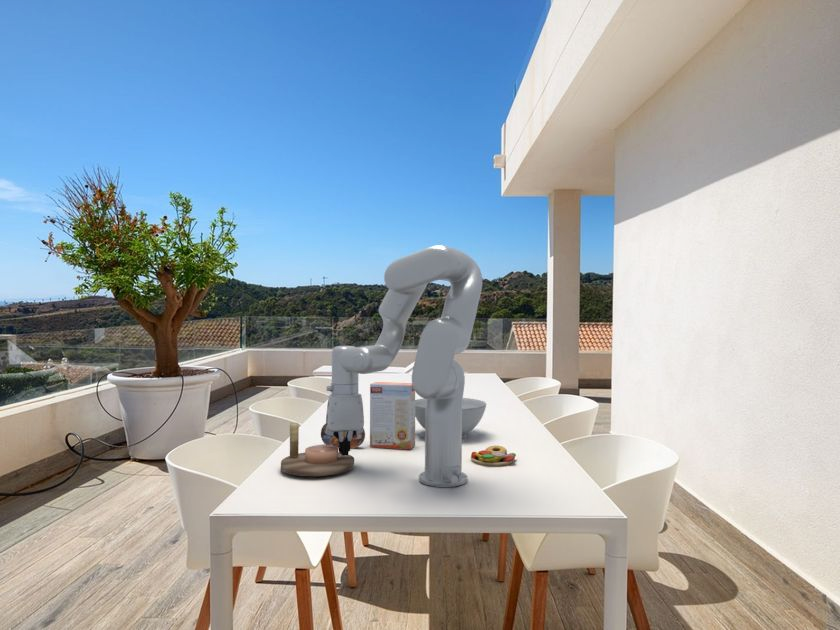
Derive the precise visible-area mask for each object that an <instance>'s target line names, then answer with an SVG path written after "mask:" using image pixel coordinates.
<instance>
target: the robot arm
mask: <svg viewBox="0 0 840 630" xmlns="http://www.w3.org/2000/svg"><path fill="white" fill-rule="evenodd" d="M482 275H483V274H482V271H481V269H480V267H479V265H478V264H477V262H476V261H475V260H474V259H473V258H472V257H471V256H470V255H468V254H467V253H465V252H463V251H461V250H459V249H456V248H452V247H450V246H448V245H441V244H439V245H432V246H428V247H425V248H423V249H421V250H417V251H416V252H414V253H411V254H407V255H405V256H403V257H400V258H398V259H395V260H394V261H392V262H391V263H390V264H389V265H388V266H386V269H385V272H384V276H383V278H384V284H385V286H386V288H388V290H387V292H386V294H385V296H384V297H383V299H382V301H381V302H380V305H379V306H378V314H379V315H380V317H381V318H382V319H381V320H382V323H383V325H382V330H381V332H380V334H379V337H378V339H377V340H376V342H375V343H374V344H373V345H366V346H357V347H356V346H353V345H338V346H334V347H333V348H332V350H331V384H330V385H326V391H327V392H330V393H331V394H329V396H328V400H327V407H326V414H325V415H326V416H325V424H326V427H327V428H326V432H325V433H326V434H327V435H332V436H335V437H336V438H337V439H338V440H339V448H338V452H340V453H341V455H342V456H345V455H348V454H349V453H350V452H351V449H350V441H351V440H352V438H353V437H354V436H355V435H356V434H358V433H361V432H363V428H364V426H365V415H364V401H363V397H362V393H359V374H360V375H367V374H372V373H378V372H382V371H385V370H387V369H388V368H389V367H390V366H391V365H392V364H393V362H394V360H395V359H396V356H397V355H398V353H399V351H400V350H401V348H402V345H403V343H404V339H405V334H406V325H407V323H408V321H409V318H410V317H411V315H412V313H413V312H414V309H415V308H416V306H417V304H418V302H419V301H420V299H421V297H422V296H423V293H424V291H425V290H426V287H427V286H428V284H430V283H432V282H435V281H443V282H444V281H445V282H448V283H450V288H449V289H448V290H449V291H448V292H447V295H446V296H445V300H444V306H443V309H442V313H441V317H438V318H434V319H433V320H430V321H429V322H428V323H427V324H426V325H425V327H424V328H423V330H422V332H421V335H420V337H419V342H418V347H417V350H416V355H415V359H414V363H413V367H412V374H411V383H412V385H413V388H414V390H415V394H417V396H419V397H421V399H422V398H424V399H427V402H426V411H425V429H424V471H423V472H420V473H419V475H418V481H419V482H420V483H422V484H423V485H426V486H431V487H436V488H452V487H453V488H454V487H458V486H462V485H464V484H466V483H467V482H468V474H466V473H464V472H463V469H462V468H463V467H462V465H463V463H462V462H463V461H462V460H463V458H462V457H463V456H462V455H463V454H462V452H463V450H462V449H463V448H462V445H463V442H462V441H463V439H462V401H463V398H464V390H465V381H466V380H465V379H466V378H465V377H466V376H465V372H464V369H463V368H462V366H461V364H460V363H459V362H458V361H456V360H455V359H454V357H455V355H458V354H461V353H463V352H464V351H466V349H468V347H469V344H470V343H471V342H470V341H471V337H472V333H473V328H474V325H475V322H476V318H477V317H476V316H477V311H478V306H479V302H480V298H481V294H482V289H483V276H482ZM343 431H346V436H345V439H344V438H343Z"/></svg>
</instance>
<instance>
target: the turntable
mask: <svg viewBox="0 0 840 630" xmlns="http://www.w3.org/2000/svg"><path fill="white" fill-rule="evenodd" d="M299 424H300V423H299V422H291V423H289V456H286V457H283V459H282V460H281V461H280V470H281V471H282V472H284V473H286V474H289V475H293V476H298V477H299V476H300V477H309V476H318V477H325V475H328V476H332V474H333V475H337V474H341V473H344V472H348V471H349V470H350V471H351V469H353V468H354V466H355V458H354V456H353V455H351V454H349V453H348V455H345V456H342V455H341V453H340V452H339V451H338V460H337V461H336V462H333V463H328V464H311V463H307V462H306V461H305V452H299V444H300V443H299V438H300V437H299V433H300V432H299V430H300V428H299V427H300V425H299Z"/></svg>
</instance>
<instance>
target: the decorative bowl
mask: <svg viewBox="0 0 840 630" xmlns="http://www.w3.org/2000/svg"><path fill="white" fill-rule="evenodd" d="M426 402H427V399H424V398H422V397H421V398H418V399H417V398H416V399H415V420H416V421H417V422H418V424H419V425H420V426H421V427H422V428H423V429H424V430H425V411H426ZM486 408H487V403H486V402H485V401H483V400H481V399H475V398H470V397H469V398H468V397H463V401H462V440H463V439H465V438H466V437H467V436H466V435H467V434H469V433H470V432H471V431H473V430H474V429H475V428H476V427H477V426H478V425H479V423H480V422H481V420H482V418H483V416H484V414H485V410H486Z"/></svg>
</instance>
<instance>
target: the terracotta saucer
mask: <svg viewBox="0 0 840 630" xmlns="http://www.w3.org/2000/svg"><path fill="white" fill-rule="evenodd" d="M338 452H339V448H338V447H336V446H332V445H325V444H318V445H311V446H307V447H306V448H305V450H304V453H305V461H306V462H307V463H311V464H328V463H333V462H336V461H337V460H338Z"/></svg>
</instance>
